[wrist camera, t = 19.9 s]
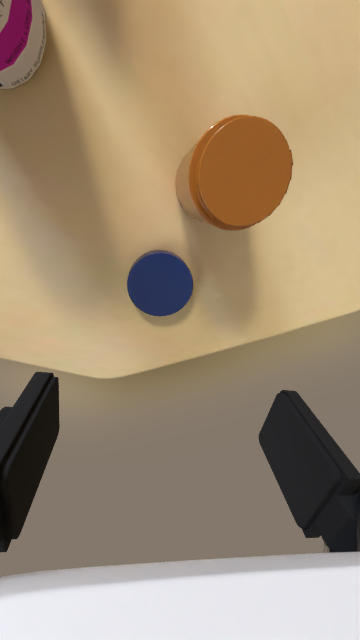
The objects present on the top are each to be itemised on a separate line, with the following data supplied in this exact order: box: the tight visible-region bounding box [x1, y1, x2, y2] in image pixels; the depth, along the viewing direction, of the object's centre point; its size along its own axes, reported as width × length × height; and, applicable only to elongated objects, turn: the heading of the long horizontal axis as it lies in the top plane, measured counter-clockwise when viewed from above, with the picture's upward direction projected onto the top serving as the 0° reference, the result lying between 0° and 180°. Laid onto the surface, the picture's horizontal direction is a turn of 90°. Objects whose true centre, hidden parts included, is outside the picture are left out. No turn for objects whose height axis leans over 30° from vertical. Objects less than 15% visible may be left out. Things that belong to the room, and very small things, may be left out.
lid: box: [127, 250, 193, 316], centre depth 26 cm, size 7×7×2 cm
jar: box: [175, 115, 293, 230], centre depth 19 cm, size 6×6×10 cm
